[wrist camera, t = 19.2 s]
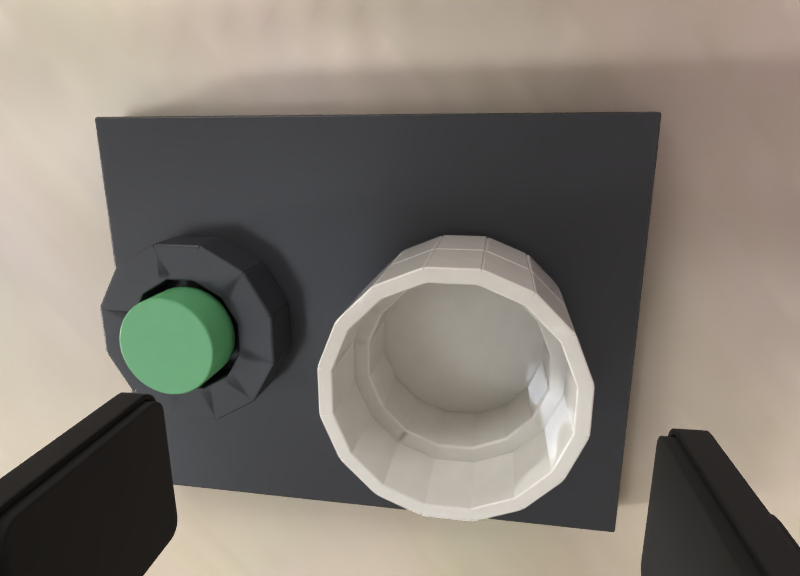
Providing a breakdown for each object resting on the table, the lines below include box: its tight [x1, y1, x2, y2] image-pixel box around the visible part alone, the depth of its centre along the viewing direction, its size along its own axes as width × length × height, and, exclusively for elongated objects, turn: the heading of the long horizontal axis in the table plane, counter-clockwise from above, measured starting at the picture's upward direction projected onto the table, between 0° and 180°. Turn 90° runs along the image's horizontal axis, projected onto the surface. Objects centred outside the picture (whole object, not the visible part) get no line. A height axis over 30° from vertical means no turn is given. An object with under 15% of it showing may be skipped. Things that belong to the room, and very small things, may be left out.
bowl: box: [317, 235, 595, 522], centre depth 16 cm, size 7×7×5 cm
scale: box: [95, 112, 661, 532], centre depth 19 cm, size 18×14×3 cm
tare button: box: [120, 286, 235, 394], centre depth 18 cm, size 3×3×2 cm
